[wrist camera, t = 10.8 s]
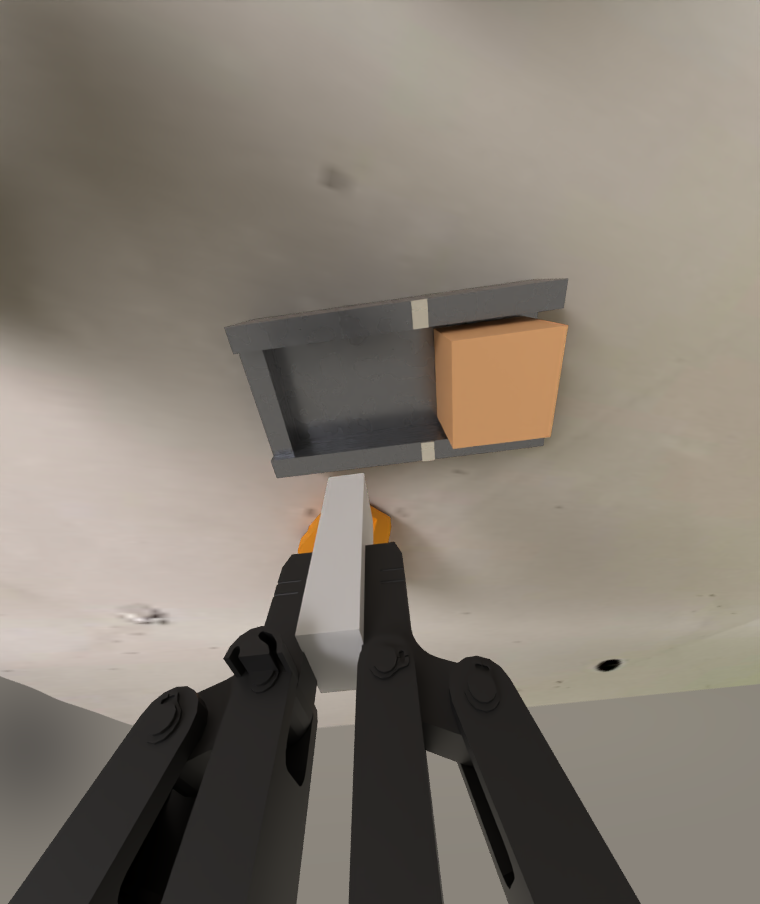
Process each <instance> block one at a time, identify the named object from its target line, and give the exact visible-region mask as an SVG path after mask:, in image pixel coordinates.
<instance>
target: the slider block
mask: <svg viewBox="0 0 760 904" xmlns="http://www.w3.org/2000/svg"><path fill="white" fill-rule="evenodd" d="M567 329H568V325H564V324H560V323H555V322H550V321H545V320H540V319H536V318H531V317H526V316H520V317H513V318H506V319H498V320H491V321H484V322H477V323H470V324H462V325H455V326H448V327H441V328H434V349H435V375H436V400H437V418H438V420H439V422H440V424H441V426H442V428H443V430H444V432H445V434H446V436H447V438H448V440H449V442H450V444H451V446H452V448H453V449H456V448H465V447H473V446H481V445H489V444H497V443H505V442H513V441H521V440H530V439H538V438H546V437H551V430H552V424H553V418H554V412H555V405H556V399H557V393H558V386H559V380H560V374H561V367H562V361H563V355H564V348H565V342H566V336H567Z"/></svg>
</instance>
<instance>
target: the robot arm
mask: <svg viewBox="0 0 760 904" xmlns="http://www.w3.org/2000/svg"><path fill="white" fill-rule="evenodd" d="M223 659H224V660H225V662H226V663H227V665H228V666H229V667H230V669H231V670H232V672H233V673H234V676H232V677H230V678H228V679H227V680H225V681H223V682H220V683H218V684H216V685H214V686H212V687H209V688H207V689H205V690H203V691H201V692H198V693H196V692H195V691H194V690H193V689H191V688H189V687H188V686H184V687H176V688H173V689H171V690H169V691H167V692H165V693H163V694H162V695H161V696H159V697H158V698H157V699H156V700H154V701H153V702H152V703H151V704H150V705H149V707H148V708H147V709H146V710H145V711H144V712H143V714H142V715H141V716H140V717H139V719H138V720H137V722H136V723H135V724H134V726H133V727H132V729H131V730H130V732H129V733H128V734H127V736H126V738H125V739H124V740H123V742H122V743H121V744H120V746H119V747H118V749H117V750H116V751H115V753H114V754H113V756H112V757H111V759H110V760H109V761H108V763H107V764H106V766H105V767H104V768H103V770H102V771H101V773H100V774H99V776H98V777H97V779H96V780H95V781H94V783H93V784H92V786H91V787H90V788H89V790H88V791H87V793H86V794H85V796H84V797H83V798H82V800H81V801H80V803H79V804H78V806H77V807H76V808H75V810H74V811H73V812H72V814H71V815H70V817H69V818H68V820H67V821H66V822H65V824H64V825H63V827H62V828H61V830H60V831H59V832H58V834H57V835H56V837H55V838H54V839H53V841H52V842H51V844H50V845H49V847H48V848H47V849H46V851H45V852H44V854H43V855H42V856H41V858H40V859H39V861H38V862H37V864H36V865H35V867H34V868H33V869H32V871H31V872H30V874H29V875H28V877H27V878H26V880H25V881H24V882H23V884H22V885H21V887H20V888H19V889H18V891H17V892H16V893H15V895H14V896H13V898H12V899H11V900H10V902H9V903H8V904H296V901H297V893H298V884H299V875H300V867H301V859H302V850H303V842H304V841H303V840H304V833H305V824H306V816H307V808H308V799H309V791H310V782H311V774H312V765H313V756H314V748H315V739H316V730H317V722H318V720H317V709H316V707H315V705H314V702H315V694H316V687H317V686H318V688H319V690H320V692H321V693H327V692H337V691H347V690H356V714H355V742H354V770H353V771H354V772H353V798H352V826H351V853H350V882H349V904H444V901H443V893H442V884H441V875H440V867H439V858H438V850H437V842H436V833H435V825H434V816H433V807H432V799H431V790H430V782H429V773H428V765H427V756H426V750H427V751H429V752H432V753H434V754H437V755H440V756H442V757H445V758H448V759H451V760H453V761H456V762H457V763H458V766H459V769H460V771H461V774H462V777H463V780H464V782H465V785H466V788H467V790H468V793H469V796H470V799H471V802H472V804H473V807H474V810H475V813H476V815H477V818H478V821H479V824H480V826H481V829H482V832H483V835H484V837H485V840H486V843H487V846H488V848H489V851H490V854H491V857H492V859H493V862H494V865H495V868H496V870H497V873H498V876H499V879H500V881H501V884H502V887H503V889H504V892H505V895H506V898H507V901H508V903H509V904H640V902H639V900H638V898H637V896H636V895H635V893H634V891H633V890H632V888H631V886H630V885H629V883H628V881H627V879H626V878H625V876H624V874H623V872H622V871H621V869H620V867H619V865H618V864H617V862H616V860H615V859H614V857H613V855H612V854H611V852H610V850H609V848H608V846H607V845H606V843H605V842H604V840H603V838H602V836H601V834H600V833H599V831H598V829H597V828H596V826H595V824H594V822H593V821H592V819H591V817H590V815H589V814H588V812H587V810H586V809H585V807H584V805H583V803H582V802H581V800H580V798H579V797H578V795H577V793H576V792H575V790H574V788H573V786H572V784H571V783H570V781H569V779H568V778H567V776H566V774H565V772H564V771H563V769H562V767H561V766H560V764H559V762H558V760H557V759H556V757H555V755H554V753H553V752H552V750H551V748H550V747H549V745H548V743H547V741H546V740H545V738H544V736H543V735H542V733H541V731H540V729H539V728H538V726H537V724H536V723H535V721H534V719H533V717H532V716H531V714H530V712H529V710H528V709H527V707H526V705H525V704H524V702H523V700H522V698H521V697H520V695H519V693H518V691H517V690H516V688H515V686H514V685H513V683H512V681H511V679H510V678H509V677H508V675H507V674H506V673H505V672H504V670H503V669H502V668H501V667H500V666H499V665H497V664H496V663H494V662H493V661H491V660H490V659H487V658H483V657H479V656H473V657H466V658H464V659H463V660H461V661H460V662H458V663H456V662H452V661H448V660H445V659H441V658H438V657H435V656H433V655H430V654H429V653H427V652H426V651H424V650H423V649H422V648H421V647H420V646H419V645H418V643H417V642H416V640H415V638H414V637H413V635H412V630H411V622H410V614H409V606H408V597H407V589H406V581H405V573H404V565H403V558H402V553H401V551H400V550H399V548H398V547H397V545H396V544H395V542H390V543H381V544H373V519H372V514H371V508H370V503H369V497H368V492H367V486H366V481H365V475H364V473H359V474H351V475H343V476H335V477H329V478H328V482H327V487H326V492H325V497H324V501H323V506H322V511H321V515H320V520H319V525H318V529H317V534H316V539H315V544H314V548H313V552H310V553H301V554H293V555H291V557H290V558H289V559H288V561H287V562H286V563H285V565H284V566H283V567H282V570H281V574H280V577H279V580H278V585H277V587H276V590H275V593H274V597H273V600H272V603H271V606H270V609H269V613H268V616H267V619H266V622H265V626H260V627H257V628H253V629H250V630H249V631H247V632H246V633H244V634H243V635H241V636H240V637H239V638H238V639H237V640H236V641H235V642H234V643H233V644H232V645H231V646H230V648H229V649H228V651H227V653H226V655H225V657H224V658H223Z"/></svg>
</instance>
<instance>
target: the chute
mask: <svg viewBox="0 0 760 904" xmlns="http://www.w3.org/2000/svg"><path fill="white" fill-rule="evenodd" d="M567 283H568V278H566V279H533V280H526V281H519V282H512V283H505V284H498V285H491V286H484V287H477V288H470V289H463V290H456V291H449V292H442V293H435V294H428V295H421V296H414V297H407V298H400V299H393V300H386V301H379V302H372V303H365V304H358V305H351V306H344V307H338V308H331V309H324V310H317V311H310V312H303V313H296V314H289V315H282V316H275V317H268V318H261V319H254V320H248V321H245V322H241V323H238V324H235V325H231V326H228V327H224V328H225V331H226V334H227V337H228V340H229V343H230V346H231V348H232V351H233V354H238V353H239V355H240V358H241V361H242V364H243V367H244V370H245V373H246V376H247V379H248V382H249V385H250V388H251V391H252V394H253V396H254V399H255V402H256V405H257V408H258V411H259V414H260V417H261V420H262V423H263V426H264V429H265V432H266V435H267V438H268V441H269V443H270V446H271V449H272V452H273V455H274V456H273V458H272V460H271V463H272V466H273V469H274V472H275V474H276V477H277V478H283V477H291V476H299V475H308V474H316V473H324V472H332V471H340V470H349V469H357V468H365V467H373V466H381V465H390V464H398V463H406V462H414V461H422V462H423V461H431V460H435V459H439V458H447V457H455V456H463V455H472V454H480V453H488V452H496V451H504V450H512V449H521V448H529V447H537V446H543V445H544V438H538V439H530V440H521V441H513V442H505V443H497V444H489V445H481V446H473V447H465V448H456V449H453V448H452V446H451V444H450V442H449V440H448V438H447V436H446V434H445V432H444V430H443V428H442V426H441V424H440V422H439V420H438V418H437V400H436V375H435V349H434V328H441V327H448V326H455V325H462V324H470V323H477V322H484V321H491V320H498V319H506V318H513V317H520V316H526V317H531V318H536V319H537V316H538V312H540V311H547V310H554V309H562V308H564V303H565V296H566V289H567Z"/></svg>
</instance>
